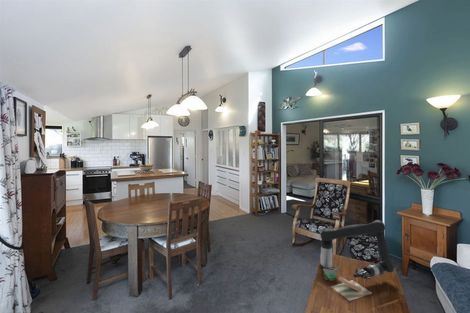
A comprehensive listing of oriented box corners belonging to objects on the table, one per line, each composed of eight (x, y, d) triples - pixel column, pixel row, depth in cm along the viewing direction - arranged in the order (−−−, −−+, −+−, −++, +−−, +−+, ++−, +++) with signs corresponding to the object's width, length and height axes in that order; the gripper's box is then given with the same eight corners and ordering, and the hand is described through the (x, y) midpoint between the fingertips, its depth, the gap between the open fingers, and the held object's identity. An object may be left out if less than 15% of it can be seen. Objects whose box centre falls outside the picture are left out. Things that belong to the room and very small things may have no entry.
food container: (327, 284, 190) (327, 271, 189) (323, 279, 196) (323, 267, 195) (341, 282, 192) (341, 269, 191) (336, 277, 198) (336, 266, 197)
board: (330, 288, 184) (330, 286, 184) (352, 281, 192) (352, 280, 192) (349, 302, 168) (349, 300, 167) (372, 294, 175) (372, 293, 175)
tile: (349, 285, 185) (337, 279, 181) (351, 282, 186) (339, 276, 181) (359, 292, 177) (347, 286, 172) (361, 288, 177) (348, 282, 173)
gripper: (363, 262, 192) (347, 266, 186) (379, 270, 180) (361, 275, 174) (363, 271, 193) (347, 276, 187) (378, 280, 181) (361, 285, 174)
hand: (354, 275), depth 180 cm, fingers closed
